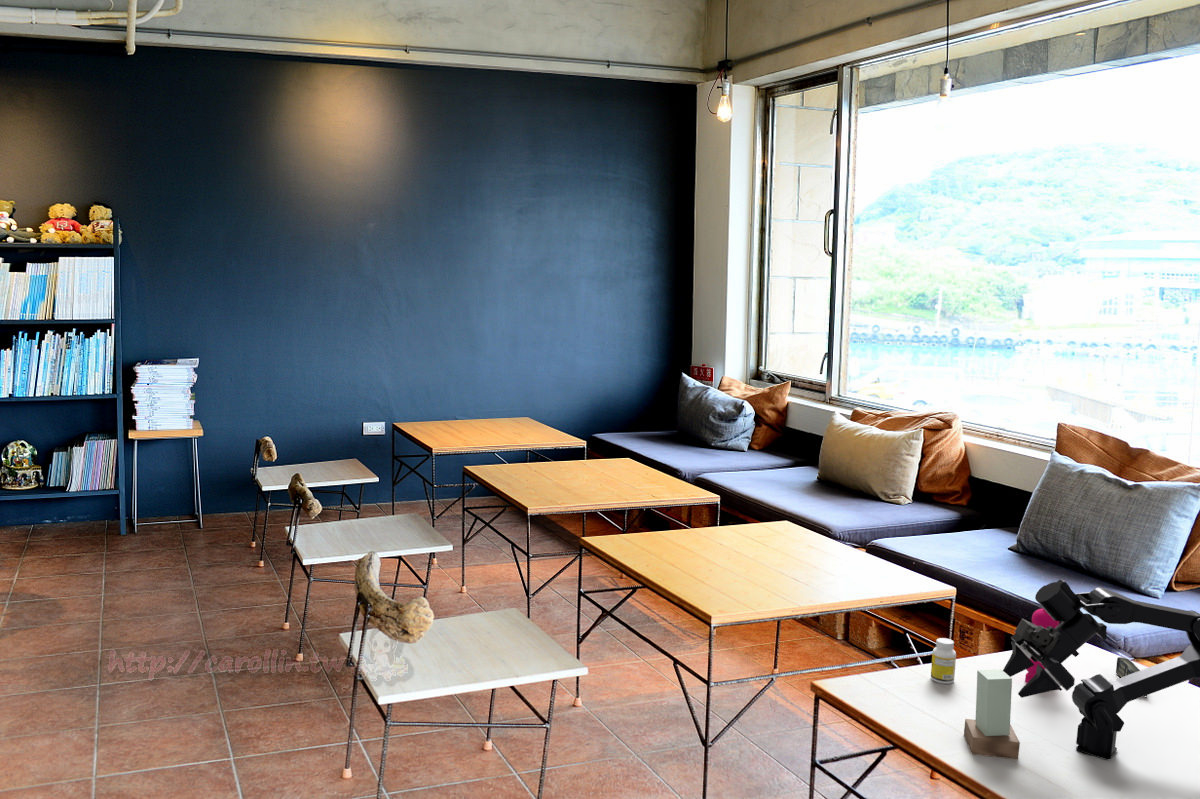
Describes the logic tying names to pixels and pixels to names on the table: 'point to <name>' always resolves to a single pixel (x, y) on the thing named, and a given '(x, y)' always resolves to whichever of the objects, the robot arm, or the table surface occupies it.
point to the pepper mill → (1044, 620)
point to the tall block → (993, 702)
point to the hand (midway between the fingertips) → (1010, 686)
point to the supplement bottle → (943, 661)
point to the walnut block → (991, 742)
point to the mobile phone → (1125, 667)
